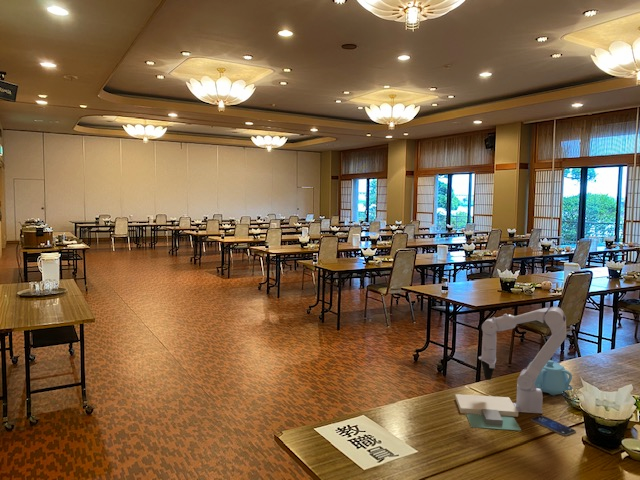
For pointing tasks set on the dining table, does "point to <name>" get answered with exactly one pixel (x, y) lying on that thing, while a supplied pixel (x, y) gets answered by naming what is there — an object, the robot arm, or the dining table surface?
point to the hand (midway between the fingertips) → (487, 379)
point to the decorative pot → (553, 378)
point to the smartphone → (553, 425)
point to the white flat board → (485, 404)
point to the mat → (479, 422)
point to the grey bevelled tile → (492, 417)
